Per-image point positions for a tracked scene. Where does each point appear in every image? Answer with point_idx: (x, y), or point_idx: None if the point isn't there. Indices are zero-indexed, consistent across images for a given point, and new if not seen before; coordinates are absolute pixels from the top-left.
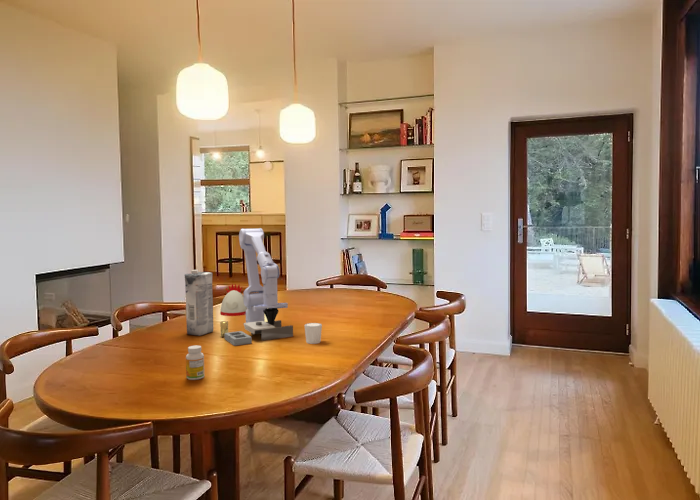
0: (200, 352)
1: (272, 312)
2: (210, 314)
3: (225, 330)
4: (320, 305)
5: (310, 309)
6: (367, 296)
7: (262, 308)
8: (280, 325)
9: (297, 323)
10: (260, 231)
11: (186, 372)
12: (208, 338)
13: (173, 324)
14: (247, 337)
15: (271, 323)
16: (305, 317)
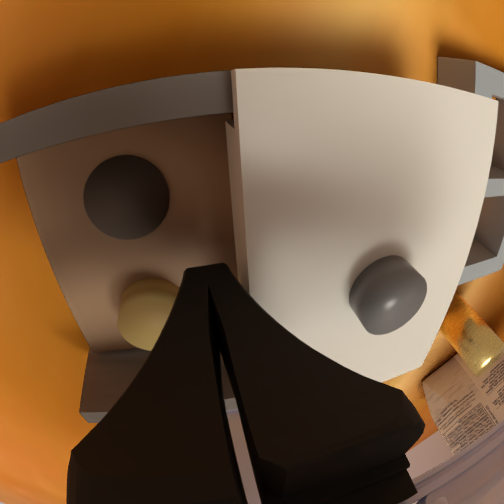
0: None
1: (270, 441)
2: (481, 421)
3: (473, 316)
4: (11, 493)
5: (25, 489)
6: None
7: (456, 487)
8: (92, 376)
9: (19, 421)
10: None
11: None
12: (493, 288)
13: (422, 434)
14: (494, 71)
15: (222, 285)
16: (13, 457)
